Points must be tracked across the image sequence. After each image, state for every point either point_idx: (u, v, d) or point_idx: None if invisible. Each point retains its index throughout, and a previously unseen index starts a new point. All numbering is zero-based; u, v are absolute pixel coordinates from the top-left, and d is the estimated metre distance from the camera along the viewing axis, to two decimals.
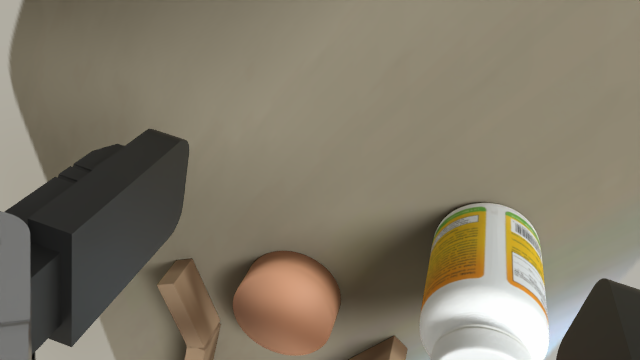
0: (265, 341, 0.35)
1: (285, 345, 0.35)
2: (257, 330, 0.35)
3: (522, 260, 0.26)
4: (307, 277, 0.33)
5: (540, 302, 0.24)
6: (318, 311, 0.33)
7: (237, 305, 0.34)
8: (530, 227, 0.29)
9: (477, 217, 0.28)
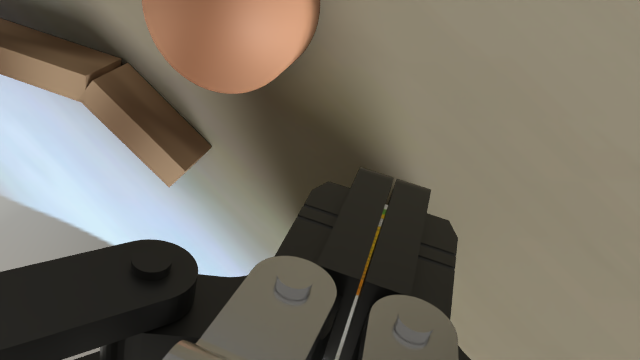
0: None
1: (163, 14, 0.21)
2: None
3: None
4: (299, 50, 0.21)
5: None
6: (248, 75, 0.21)
7: None
8: None
9: None
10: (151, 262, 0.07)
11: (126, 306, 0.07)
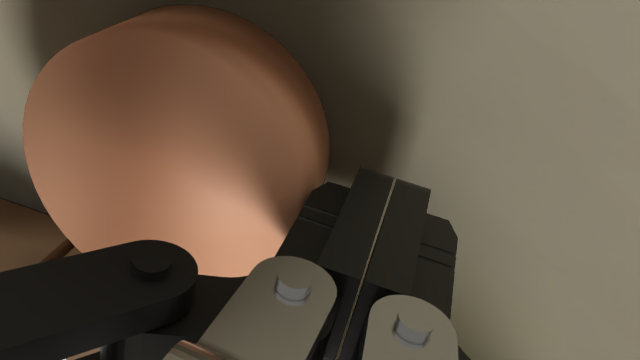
0: (44, 124, 0.12)
1: (64, 181, 0.12)
2: (74, 104, 0.11)
3: None
4: None
5: None
6: None
7: (142, 47, 0.10)
8: None
9: None
10: (151, 262, 0.07)
11: (126, 306, 0.07)
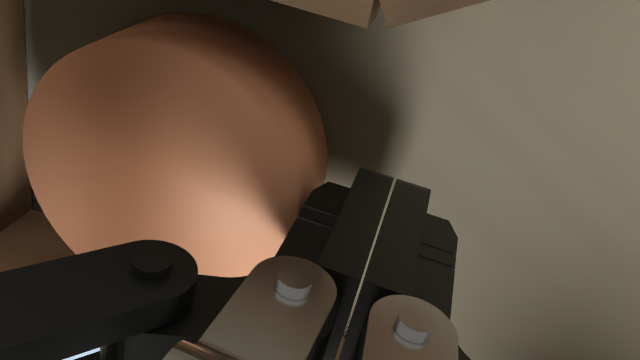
0: (43, 135, 0.12)
1: (64, 191, 0.12)
2: (72, 114, 0.12)
3: None
4: None
5: None
6: None
7: (136, 56, 0.11)
8: None
9: None
10: (151, 262, 0.07)
11: (126, 306, 0.07)
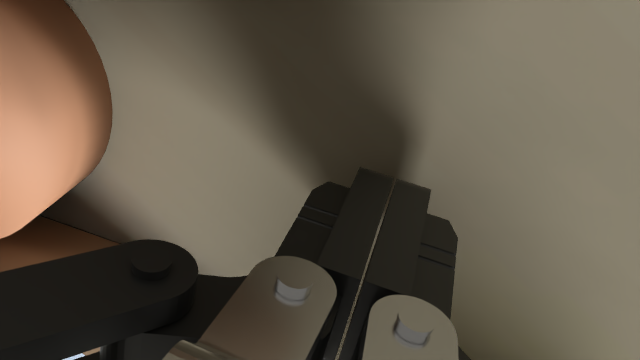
0: None
1: None
2: None
3: None
4: (68, 166, 0.13)
5: None
6: None
7: None
8: None
9: None
10: (151, 262, 0.07)
11: (126, 306, 0.07)
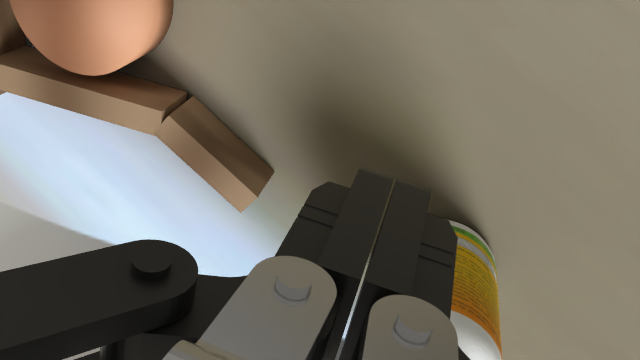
0: None
1: (28, 8, 0.24)
2: None
3: None
4: (151, 30, 0.24)
5: None
6: (109, 56, 0.24)
7: None
8: None
9: (496, 279, 0.25)
10: (150, 262, 0.07)
11: (126, 306, 0.07)
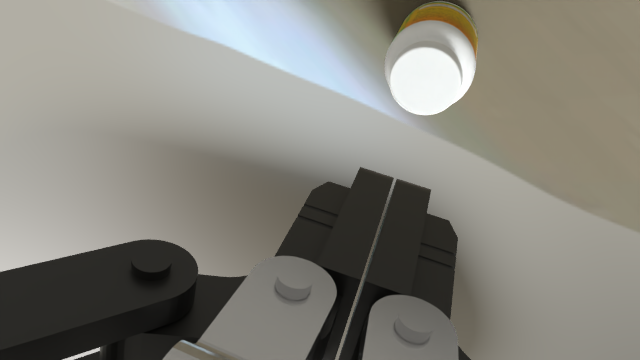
0: None
1: None
2: None
3: None
4: None
5: None
6: None
7: None
8: None
9: (477, 36, 0.38)
10: (150, 262, 0.07)
11: (126, 306, 0.07)
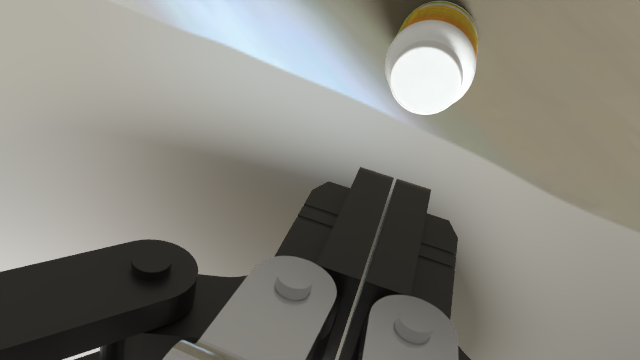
0: None
1: None
2: None
3: None
4: None
5: None
6: None
7: None
8: None
9: (477, 36, 0.38)
10: (150, 262, 0.07)
11: (126, 306, 0.07)
